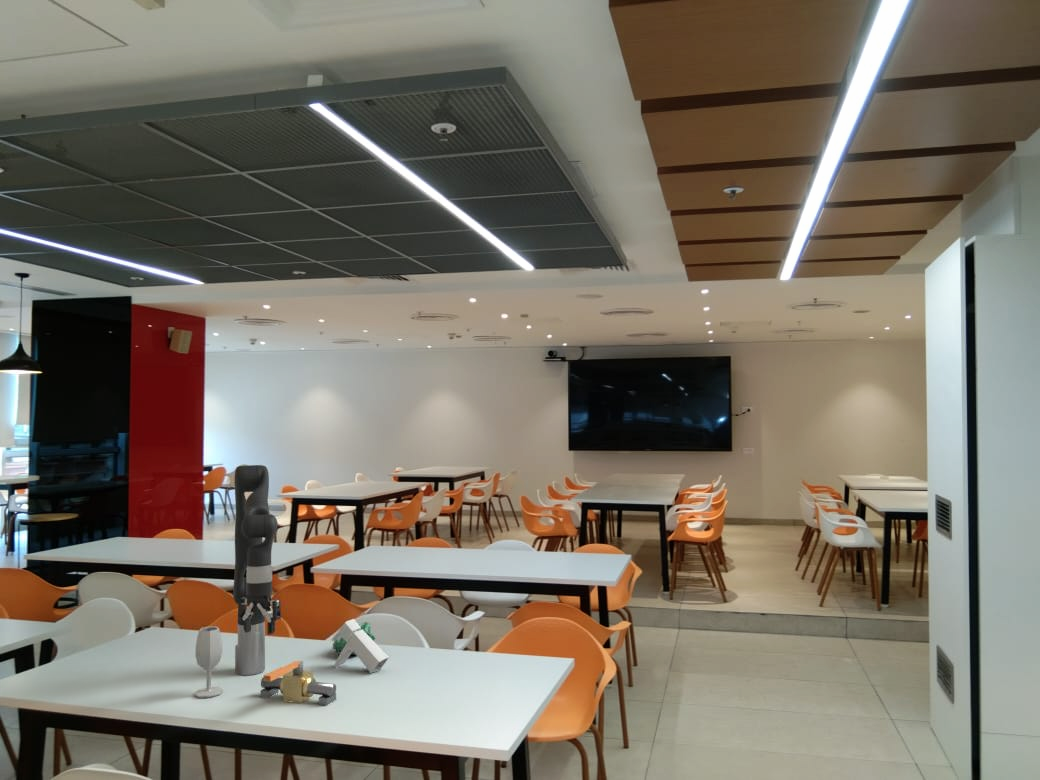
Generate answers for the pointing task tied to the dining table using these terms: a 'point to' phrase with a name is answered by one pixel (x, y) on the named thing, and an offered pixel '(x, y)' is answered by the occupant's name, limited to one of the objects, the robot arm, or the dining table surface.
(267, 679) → the lever
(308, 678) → the valve
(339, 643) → the mineral
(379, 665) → the faucet
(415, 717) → the dining table surface
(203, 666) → the wineglass
